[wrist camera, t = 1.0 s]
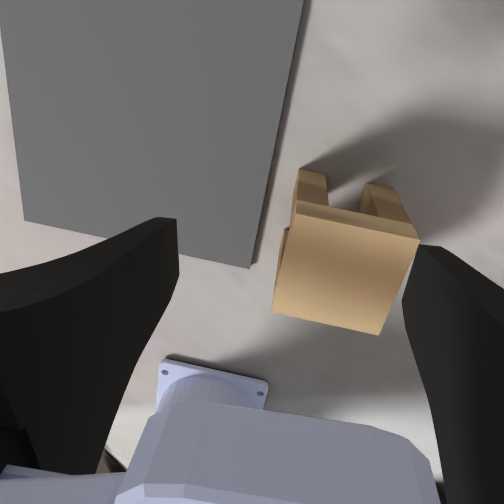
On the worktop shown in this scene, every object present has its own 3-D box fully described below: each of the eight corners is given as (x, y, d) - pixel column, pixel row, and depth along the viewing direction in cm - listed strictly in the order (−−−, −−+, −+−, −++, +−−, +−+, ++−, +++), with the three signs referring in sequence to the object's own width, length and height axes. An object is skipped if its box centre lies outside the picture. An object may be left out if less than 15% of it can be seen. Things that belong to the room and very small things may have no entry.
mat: (250, 265, 24) (249, 269, 24) (28, 217, 25) (24, 220, 24) (304, -4, 17) (304, -5, 17) (-6, -65, 18) (-12, -68, 17)
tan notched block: (363, 267, 23) (378, 335, 18) (279, 249, 23) (271, 312, 18) (392, 188, 21) (420, 240, 16) (299, 168, 21) (295, 213, 16)
